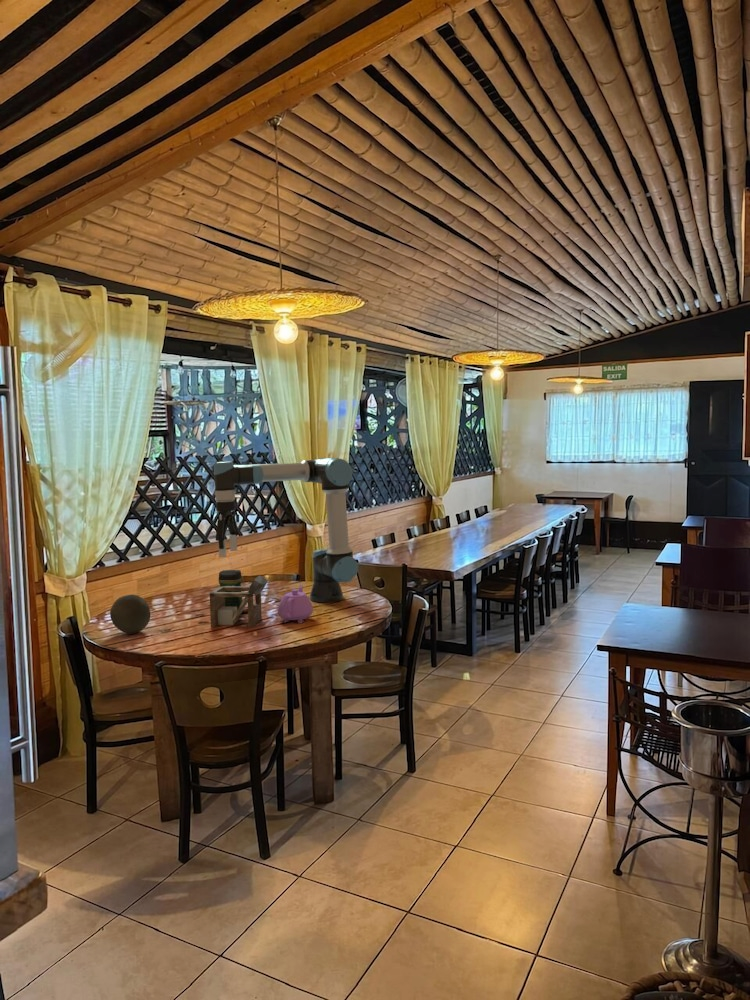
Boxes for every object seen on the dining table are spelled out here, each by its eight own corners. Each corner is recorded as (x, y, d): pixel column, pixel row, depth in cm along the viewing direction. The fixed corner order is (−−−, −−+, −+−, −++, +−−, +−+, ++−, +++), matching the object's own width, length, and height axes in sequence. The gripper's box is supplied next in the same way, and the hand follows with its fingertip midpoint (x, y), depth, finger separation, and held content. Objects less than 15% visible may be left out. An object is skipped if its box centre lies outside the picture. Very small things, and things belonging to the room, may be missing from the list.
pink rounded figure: (286, 612, 286) (285, 583, 285) (319, 613, 283) (318, 584, 282) (271, 625, 266) (270, 594, 265) (306, 626, 264) (305, 595, 262)
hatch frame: (261, 618, 276) (260, 586, 275) (252, 627, 264) (251, 593, 263) (221, 618, 278) (220, 586, 277) (210, 626, 266) (209, 593, 265)
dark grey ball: (120, 629, 265) (118, 591, 264) (156, 628, 265) (154, 591, 264) (105, 639, 251) (103, 599, 250) (143, 639, 251) (141, 599, 250)
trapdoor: (268, 580, 273) (259, 575, 273) (262, 584, 264) (253, 579, 264) (245, 619, 275) (237, 614, 275) (239, 625, 267) (230, 619, 267)
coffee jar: (245, 610, 290) (243, 568, 289) (240, 615, 282) (238, 571, 281) (223, 610, 291) (221, 568, 289) (217, 615, 283) (216, 572, 282)
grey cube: (236, 606, 274) (222, 606, 274) (232, 610, 268) (217, 610, 268) (237, 621, 274) (223, 620, 275) (232, 625, 268) (218, 624, 269)
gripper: (226, 498, 280) (229, 548, 282) (205, 504, 255) (208, 559, 257) (244, 497, 279) (246, 548, 281) (224, 503, 254) (227, 559, 256)
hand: (228, 553), depth 269 cm, fingers open, 13 cm apart
